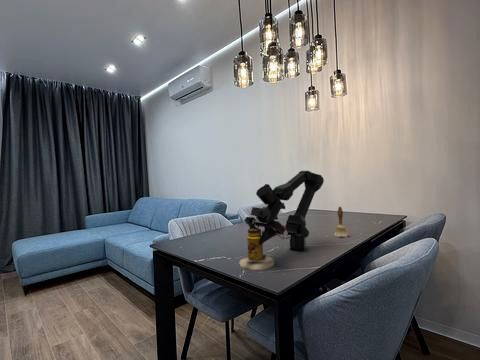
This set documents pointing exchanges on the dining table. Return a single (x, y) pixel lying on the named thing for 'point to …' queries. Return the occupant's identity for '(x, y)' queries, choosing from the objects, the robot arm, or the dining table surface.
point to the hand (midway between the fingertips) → (253, 242)
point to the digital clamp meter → (279, 235)
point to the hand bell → (340, 225)
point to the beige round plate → (257, 264)
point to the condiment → (255, 246)
